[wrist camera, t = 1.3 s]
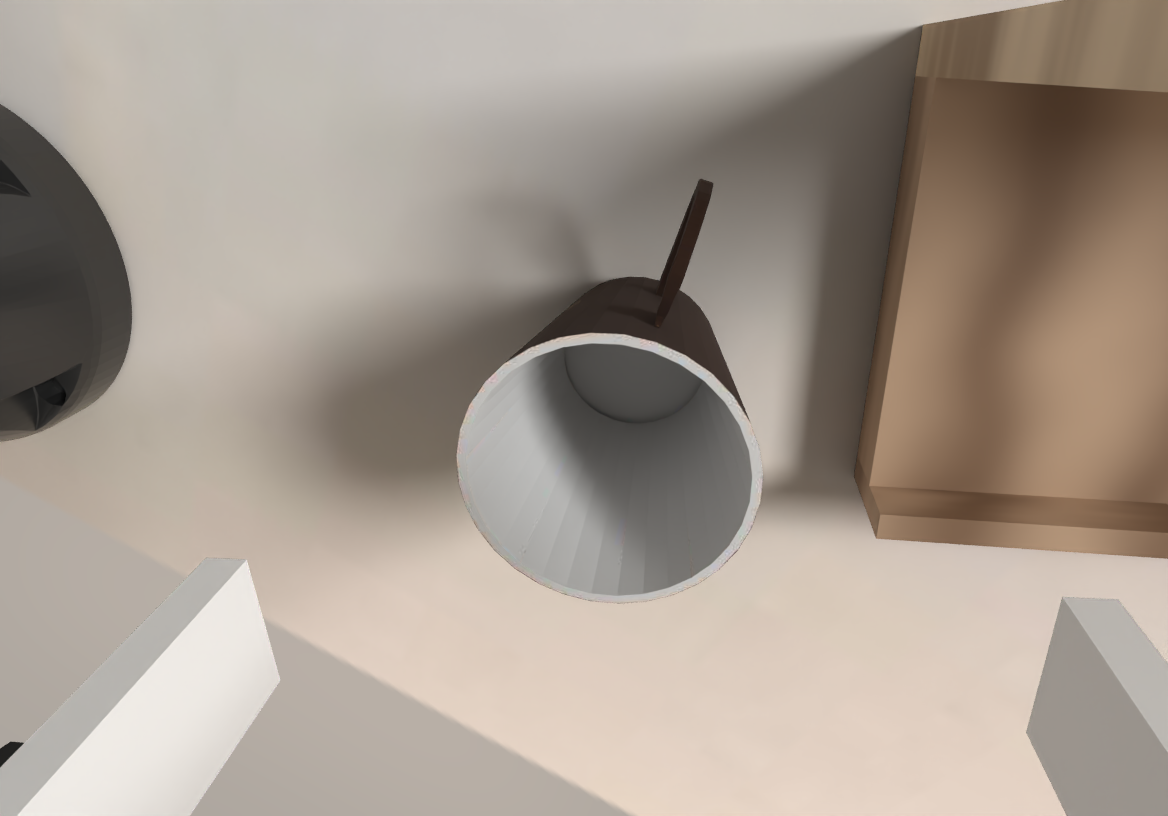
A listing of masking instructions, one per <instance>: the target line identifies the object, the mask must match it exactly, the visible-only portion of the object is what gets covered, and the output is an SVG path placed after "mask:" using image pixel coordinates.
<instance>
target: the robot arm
mask: <svg viewBox="0 0 1168 816" xmlns="http://www.w3.org/2000/svg"><path fill="white" fill-rule="evenodd" d="M131 324H132V305H131V294H130V288H129V282H128V277H127V273H126V269H125V265H124V262H123V259H122V255H121V252H120V250H119V247H118V244H117V242H116V239H115V237H114V235H113V232H112V230H111V228H110V226H109V224H108V222H107V220H106V218H105V216H104V214H103V212H102V210H101V209H100V207H99V205H98V203H97V202H96V200H95V199H94V197H93V195H92V194H91V192H90V191H89V189H88V188H87V186H86V185H85V184H84V182H83V181H82V180H81V178H80V177H79V175H78V174H77V173H76V172H75V170H74V169H73V168H72V167H71V166H70V164H69V163H68V162H67V161H66V160H65V159H64V157H63V156H62V155H61V154H60V153H59V152H58V151H57V150H56V149H55V148H54V147H53V146H52V145H51V144H50V143H49V142H48V141H47V140H46V139H45V138H44V137H43V136H42V135H41V134H39V133H38V132H37V131H36V130H35V129H34V128H33V127H31V126H30V125H29V124H28V123H26V122H25V121H24V120H22V119H21V118H20V117H18V116H17V115H16V114H14V113H13V112H11V111H10V110H8V109H7V108H5V107H4V106H2V105H1V104H0V442H2V441H8V440H14V439H18V438H22V437H26V436H29V435H32V434H35V433H38V432H40V431H43V430H45V429H47V428H50V427H52V426H53V425H55V424H57V423H59V422H61V421H62V420H64V419H66V418H68V417H70V416H72V415H73V414H75V413H77V412H79V411H81V410H82V409H84V408H86V407H87V406H89V405H90V404H92V403H93V402H95V401H96V400H97V399H98V398H99V397H100V396H101V395H103V394H104V392H105V391H106V390H107V389H108V388H109V387H110V385H111V384H112V383H113V381H114V380H115V378H116V376H117V375H118V373H119V371H120V369H121V367H122V364H123V362H124V359H125V356H126V353H127V350H128V346H129V341H130V334H131ZM279 682H280V677H279V674H278V670H277V667H276V663H275V659H274V656H273V652H272V649H271V645H270V641H269V638H268V634H267V631H266V627H265V623H264V620H263V616H262V613H261V609H260V605H259V602H258V598H257V595H256V591H255V587H254V584H253V580H252V577H251V573H250V569H249V566H248V562H247V560H244V559H222V558H206V559H205V560H204V561H203V562H202V563H201V564H200V565H199V566H198V567H197V568H196V569H195V570H194V571H193V572H192V573H191V574H190V575H189V576H188V577H187V578H186V579H185V580H184V581H183V582H182V583H181V584H180V585H179V586H178V587H177V588H176V589H175V590H174V591H173V592H172V593H171V594H170V595H169V596H168V597H167V598H166V599H165V600H164V601H163V602H162V603H161V604H160V605H159V606H158V607H157V608H156V610H155V611H154V612H153V613H151V615H150V616H149V617H148V618H147V619H146V620H145V621H144V622H143V623H142V624H141V625H140V626H139V627H138V628H137V629H136V630H135V631H134V632H133V633H132V634H131V635H130V636H129V637H128V638H127V639H126V640H125V641H124V642H123V643H122V644H121V645H120V646H119V647H118V648H117V649H116V650H115V651H114V652H113V653H112V654H111V655H110V656H109V657H108V658H107V659H106V660H105V661H104V662H103V663H102V664H101V666H100V667H98V669H97V670H96V671H95V672H94V673H93V674H92V675H91V676H90V677H89V678H88V679H87V680H86V681H85V682H84V683H83V684H82V685H81V686H80V687H79V688H78V689H77V690H76V691H75V692H74V693H73V694H72V695H71V696H70V697H69V698H68V699H67V700H66V701H65V702H64V703H63V704H62V705H61V706H60V707H59V708H58V709H57V710H56V711H55V712H54V713H53V714H52V715H51V716H50V717H49V718H48V719H47V721H46V722H45V723H44V724H42V726H41V727H40V728H39V729H38V730H37V731H36V732H35V733H34V734H33V735H32V736H31V737H30V738H29V739H28V740H27V741H26V742H25V743H20V742H9V743H8V744H7V745H5V746H4V747H2V748H1V749H0V816H190V814H191V813H192V812H193V810H194V808H195V807H196V806H197V804H198V802H199V801H200V800H201V798H202V797H203V795H204V794H205V792H206V791H207V789H208V788H209V786H210V784H211V783H212V782H213V780H214V779H215V777H216V776H217V774H218V773H219V771H220V770H221V768H222V767H223V765H224V764H225V762H226V761H227V759H228V758H229V756H230V755H231V753H232V752H233V750H234V749H235V747H236V746H237V744H238V743H239V741H240V740H241V738H242V737H243V735H244V734H245V732H246V731H247V730H248V728H249V727H250V725H251V723H252V722H253V721H254V719H255V718H256V716H257V715H258V713H259V712H260V710H261V709H262V707H263V706H264V704H265V703H266V701H267V700H268V698H269V697H270V695H271V694H272V692H273V691H274V689H275V688H276V686H277V685H278V683H279ZM1026 733H1027V735H1028V737H1029V739H1030V741H1031V743H1032V745H1033V747H1034V749H1035V751H1036V753H1037V755H1038V757H1039V760H1040V762H1041V764H1042V766H1043V768H1044V770H1045V772H1046V774H1047V776H1048V778H1049V780H1050V782H1051V784H1052V786H1053V788H1054V790H1055V792H1056V794H1057V796H1058V799H1059V801H1060V803H1061V805H1062V807H1063V809H1064V811H1065V813H1066V815H1067V816H1168V663H1167V662H1166V660H1165V659H1164V658H1163V656H1162V655H1161V654H1160V653H1159V651H1158V650H1157V649H1156V647H1155V646H1154V645H1153V644H1152V642H1151V641H1150V640H1149V638H1148V637H1147V636H1146V635H1145V633H1144V632H1143V631H1142V629H1141V628H1140V627H1139V626H1138V624H1137V623H1136V622H1135V620H1134V619H1133V618H1132V617H1131V615H1130V614H1129V613H1128V611H1127V610H1126V609H1125V608H1124V606H1123V605H1122V604H1121V602H1120V601H1119V600H1117V599H1095V598H1074V597H1062V600H1061V604H1060V608H1059V611H1058V615H1057V619H1056V623H1055V626H1054V630H1053V634H1052V638H1051V641H1050V645H1049V649H1048V653H1047V656H1046V660H1045V664H1044V668H1043V671H1042V675H1041V679H1040V683H1039V686H1038V690H1037V694H1036V698H1035V701H1034V705H1033V709H1032V713H1031V716H1030V720H1029V724H1028V728H1027V731H1026Z"/></svg>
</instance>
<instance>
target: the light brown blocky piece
mask: <svg viewBox="0 0 1168 816" xmlns="http://www.w3.org/2000/svg"><path fill="white" fill-rule="evenodd" d="M854 478H855V480H856V483H857V486H858V489H859V492H860V494H861V497H862V500H863V503H864V506H865V508H866V511H867V514H868V517H869V520H870V522H871V525H872V528H873V531H874V534H875V536H876V538H877V539H891V540H906V541H920V542H935V543H949V544H964V545H978V546H993V547H1007V548H1022V549H1036V550H1051V551H1065V552H1080V553H1094V554H1109V555H1123V556H1138V557H1152V558H1167V559H1168V0H1063V1H1057V2H1051V3H1046V4H1040V5H1034V6H1028V7H1023V8H1017V9H1011V10H1006V11H1000V12H994V13H988V14H983V15H977V16H971V17H965V18H960V19H954V20H948V21H943V22H937V23H931V24H925V25H923V29H922V35H921V42H920V48H919V55H918V61H917V68H916V74H915V81H914V88H913V94H912V101H911V107H910V114H909V120H908V127H907V133H906V140H905V146H904V153H903V160H902V166H901V173H900V179H899V186H898V192H897V199H896V205H895V212H894V218H893V225H892V231H891V238H890V245H889V251H888V258H887V264H886V271H885V277H884V284H883V290H882V297H881V303H880V310H879V316H878V323H877V330H876V336H875V343H874V349H873V356H872V362H871V369H870V375H869V382H868V388H867V395H866V401H865V408H864V415H863V421H862V428H861V434H860V441H859V447H858V454H857V460H856V467H855V473H854Z"/></svg>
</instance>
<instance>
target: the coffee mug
mask: <svg viewBox="0 0 1168 816" xmlns="http://www.w3.org/2000/svg"><path fill="white" fill-rule="evenodd" d="M712 188H713V183H712V182H709V181H706V180H703V179H700V180H699V181H698V184H697V187H696V189H695V191H694V194H693V196H692V198H691V201H690V203H689V206H688V208H687V211H686V213H685V216H684V219H683V221H682V224H681V226H680V229H679V232H678V234H677V237H676V239H675V242H674V245H673V247H672V250H671V252H670V255H669V258H668V260H667V263H666V266H665V268H664V271H663V273H662V276H661V279H660V281H659V280H654V279H650V278H646V277H626V278H620V279H613V280H611V281H608V282H605V283H603V284H600V285H598V286H596V287H595V288H593V289H591V290H590V291H588V292H587V293H585V294H584V295H583V296H582V297H580V298H579V299H578V300H577V301H576V302H575V303H573V304H572V305H571V306H570V307H569V308H568V309H567V310H565V311H564V312H563V313H562V314H561V315H560V316H558V317H557V318H556V319H555V320H554V321H553V322H551V323H550V324H549V325H548V326H547V327H546V328H545V329H543V330H542V331H541V332H540V333H539V334H538V335H536V336H535V337H534V338H533V339H532V340H531V341H530V342H528V343H527V344H526V345H525V346H524V347H523V348H521V349H520V350H519V351H518V352H517V353H516V354H515V355H513V356H512V357H511V358H510V359H509V360H508V361H506V362H505V363H504V364H503V365H502V366H501V367H500V368H499V369H498V370H497V371H496V372H495V373H494V374H493V375H492V376H491V377H489V378H488V379H487V380H486V381H485V382H484V384H483V385H482V387H481V388H480V390H479V391H478V393H477V394H476V396H475V397H474V399H473V400H472V402H471V403H470V405H469V407H468V409H467V412H466V415H465V417H464V420H463V423H462V425H461V428H460V432H459V439H458V446H457V454H456V459H457V471H458V482H459V485H460V489H461V492H462V495H463V499H464V502H465V505H466V508H467V510H468V511H469V513H470V515H471V517H472V519H473V521H474V523H475V525H476V527H477V529H478V530H479V531H480V533H481V534H482V535H483V536H484V538H485V539H486V540H487V542H488V543H489V544H490V545H491V547H492V548H493V549H494V550H495V551H496V552H497V553H498V554H499V555H500V556H501V557H502V558H504V559H505V560H506V561H507V562H508V563H509V564H510V565H511V566H513V567H514V568H515V569H516V570H518V571H519V572H521V573H523V574H524V575H526V576H527V577H529V578H531V579H532V580H534V581H535V582H537V583H539V584H541V585H543V586H546V587H548V588H550V589H553V590H555V591H557V592H560V593H562V594H565V595H569V596H573V597H577V598H581V599H585V600H588V601H596V602H607V603H618V604H619V603H633V602H646V601H650V600H655V599H659V598H663V597H667V596H671V595H674V594H676V593H679V592H681V591H683V590H686V589H688V588H690V587H693V586H695V585H697V584H699V583H700V582H702V581H703V580H704V579H706V578H707V577H709V576H710V575H712V574H713V573H715V572H716V571H718V570H719V569H720V568H721V567H722V566H723V565H724V564H725V563H726V562H727V561H728V560H729V559H730V558H731V557H732V556H733V555H734V554H735V553H736V552H737V551H738V549H739V548H740V546H741V544H742V543H743V541H744V540H745V538H746V536H747V535H748V533H749V532H750V530H751V528H752V526H753V523H754V520H755V517H756V514H757V511H758V509H759V506H760V502H761V492H762V483H763V471H762V462H761V454H760V448H759V445H758V442H757V440H756V437H755V434H754V431H753V429H752V426H751V423H750V420H749V418H748V416H747V413H746V411H745V408H744V406H743V403H742V401H741V399H740V396H739V394H738V391H737V389H736V386H735V384H734V381H733V379H732V377H731V374H730V372H729V369H728V367H727V364H726V362H725V360H724V357H723V355H722V352H721V350H720V347H719V345H718V343H717V340H716V338H715V335H714V333H713V330H712V328H711V325H710V323H709V321H708V320H707V318H706V316H705V315H704V313H703V311H702V310H701V308H700V307H699V306H698V305H697V304H696V303H695V302H694V301H693V300H692V299H691V298H690V297H689V296H687V295H686V294H685V293H683V292H682V291H680V290H679V288H680V286H681V284H682V282H683V279H684V276H685V273H686V270H687V267H688V265H689V262H690V258H691V255H692V253H693V250H694V246H695V244H696V241H697V238H698V235H699V232H700V229H701V226H702V223H703V220H704V217H705V214H706V210H707V207H708V204H709V201H710V197H711V193H712Z"/></svg>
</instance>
